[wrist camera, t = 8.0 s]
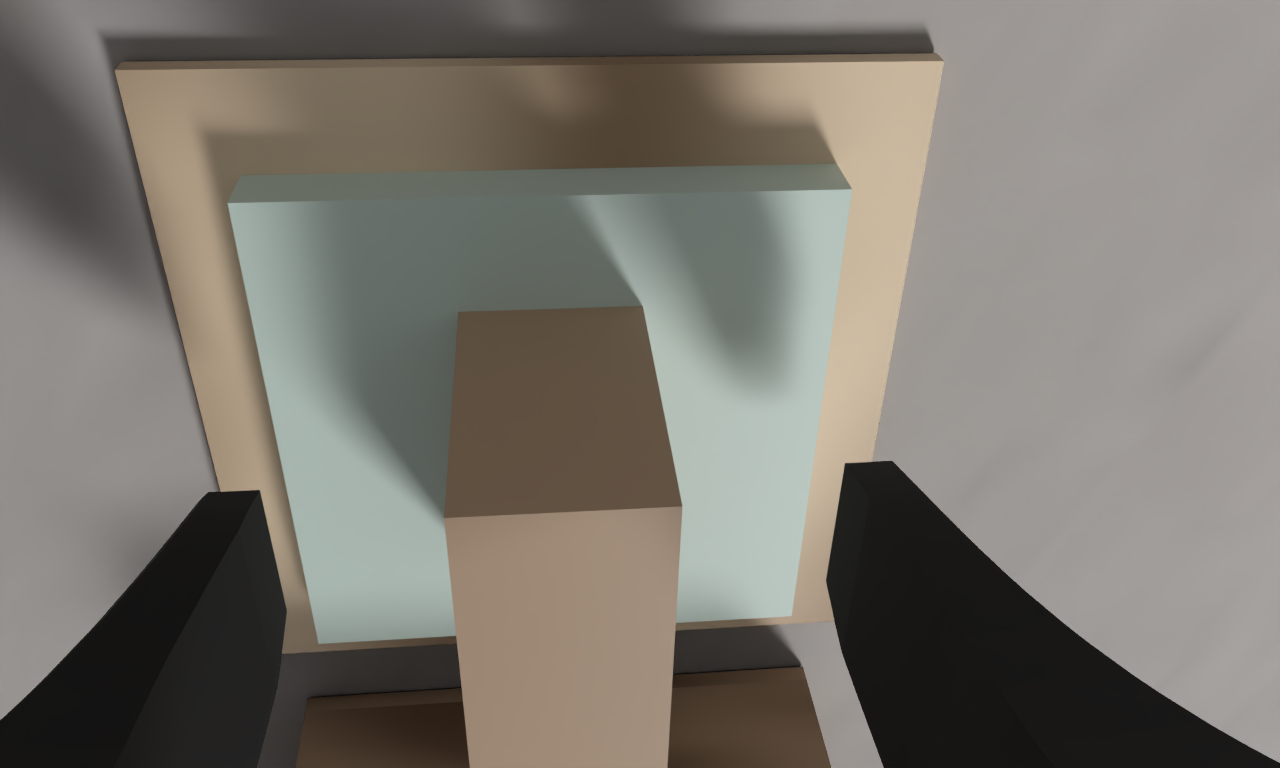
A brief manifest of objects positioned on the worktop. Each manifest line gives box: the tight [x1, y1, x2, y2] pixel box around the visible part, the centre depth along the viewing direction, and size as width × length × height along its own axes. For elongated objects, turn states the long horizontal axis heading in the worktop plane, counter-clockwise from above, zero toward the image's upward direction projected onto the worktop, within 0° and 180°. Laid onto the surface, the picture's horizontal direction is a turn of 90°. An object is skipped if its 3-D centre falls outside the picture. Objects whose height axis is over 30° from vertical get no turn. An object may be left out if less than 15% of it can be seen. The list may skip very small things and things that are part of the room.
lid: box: [228, 164, 852, 768], centre depth 14 cm, size 8×8×5 cm
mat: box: [115, 53, 944, 654], centre depth 16 cm, size 10×10×1 cm
